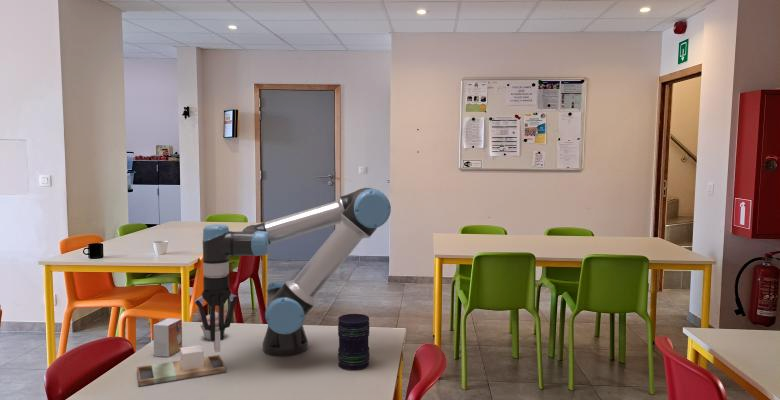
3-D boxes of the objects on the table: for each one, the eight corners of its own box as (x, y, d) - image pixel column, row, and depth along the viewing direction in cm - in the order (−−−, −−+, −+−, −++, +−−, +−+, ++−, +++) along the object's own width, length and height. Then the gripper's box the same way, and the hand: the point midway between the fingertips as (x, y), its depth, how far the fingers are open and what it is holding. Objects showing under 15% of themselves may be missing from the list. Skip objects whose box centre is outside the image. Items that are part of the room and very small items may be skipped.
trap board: (219, 359, 176) (219, 354, 176) (226, 372, 165) (226, 367, 165) (137, 372, 165) (137, 367, 165) (138, 386, 154) (138, 381, 154)
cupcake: (195, 337, 197) (195, 310, 197) (220, 332, 204) (219, 305, 203) (207, 344, 190) (206, 315, 190) (232, 338, 197) (231, 311, 196)
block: (201, 360, 170) (200, 345, 170) (203, 367, 165) (203, 351, 164) (180, 363, 167) (180, 347, 167) (182, 370, 162) (182, 354, 162)
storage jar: (353, 373, 165) (353, 324, 164) (331, 365, 172) (331, 318, 171) (376, 364, 172) (376, 317, 171) (354, 356, 179) (354, 311, 178)
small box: (168, 357, 177) (168, 325, 177) (153, 356, 178) (152, 324, 178) (182, 349, 185) (182, 318, 184) (168, 348, 186) (167, 317, 186)
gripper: (235, 271, 174) (236, 344, 176) (192, 274, 168) (193, 350, 170) (240, 275, 167) (241, 351, 169) (195, 279, 161) (196, 357, 163)
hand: (217, 350), depth 169 cm, fingers closed
